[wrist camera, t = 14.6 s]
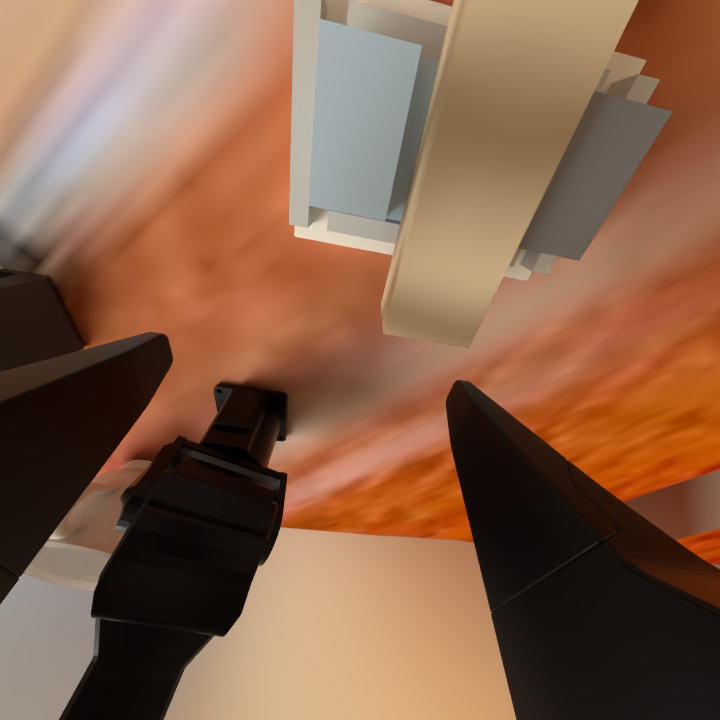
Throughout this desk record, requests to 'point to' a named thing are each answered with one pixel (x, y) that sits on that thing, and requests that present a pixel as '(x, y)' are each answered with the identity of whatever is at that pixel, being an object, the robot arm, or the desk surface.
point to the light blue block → (404, 129)
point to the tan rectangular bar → (491, 152)
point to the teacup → (86, 532)
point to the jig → (427, 28)
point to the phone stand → (32, 321)
